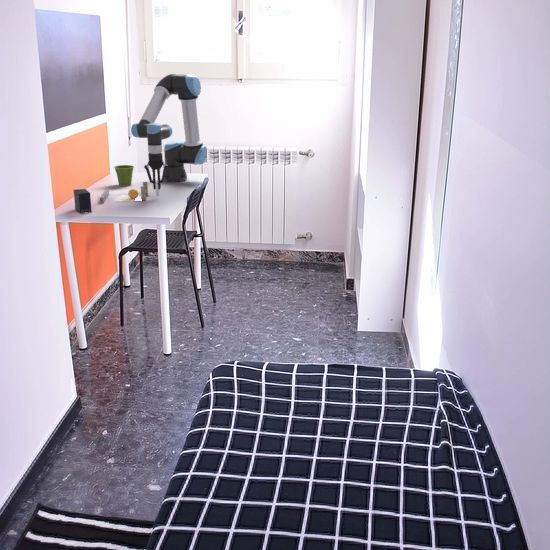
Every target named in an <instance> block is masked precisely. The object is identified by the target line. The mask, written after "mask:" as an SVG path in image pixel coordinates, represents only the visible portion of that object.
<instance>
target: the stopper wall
mask: <svg viewBox="0 0 550 550" xmlns="http://www.w3.org/2000/svg"><path fill="white" fill-rule="evenodd" d="M109 196H110V190H109V189H104V190H103V192H102V194H101V195H100V197H99V204H105V203H106V201H107V199H108V197H109Z"/></svg>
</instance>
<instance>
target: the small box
mask: <svg viewBox="0 0 550 550" xmlns="http://www.w3.org/2000/svg"><path fill="white" fill-rule="evenodd" d="M73 198H74V210H75V211H77V212H78V214H86V213H85V212H88V213H92V200H91V192H90V191H89V190H87V189H86V188H80V189H77V188H76V189H73Z"/></svg>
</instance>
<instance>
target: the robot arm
mask: <svg viewBox="0 0 550 550" xmlns="http://www.w3.org/2000/svg"><path fill="white" fill-rule="evenodd" d="M201 89H202V85H201V80H200V79H199V77H198V76H197V75H195V74H189V73H187V74H186V73H185V74H184V73H170V74H167V75H165V76H164V77H162V78H161V79H160V80H159V81H158V82H157V84H156V85H155V87H154V88H153V92H154V93H153V94H152V96H151V98H150V101H149V103H148V105H147V106H146V108H145V110H144V112H143V114H142V116H141V118H140V120H139V122H138V123H133V124H132V126H131V129H130V131H131V133H130V134H131V135H132V136H133V137H134V138H140V139H146V140H147V152H148V155H147V156H148V162H147V164H144V166H143V168H144V170H145V171H146V174H147V177H148V180H149V181H148V182H149V183H150V184H152V186H153V190H155V196H156V197H157V196H160V191H159V190H161V184H163V183H164V180H167V181H166V182H169V181H175V182H177V183H178V182H183V181H187V180H188V174H187V172H186V169H185V164H186V165H188V164H189V165H194V166H196V165H200V166H201V165H203V164H204V163H205V162H206V161H207V156H208V148H207V146H206V145H205V144H203V141H202V139H200V138H201V137H200V129H199V119H198V109H197V100H198V99H199V96H200V94H201ZM172 95H173V96H174V95H175V96H177V98H178V101H180V102H181V112H182V119H183V130H184V136H185V140H184V142H183V141H173V142H167V143H165V144H164V147H163V143H162V141H163V140H165V139H169V138H170V137H171V136H172V135H173V128H172V127H171V126H170V124H160V123H158V122H156V121H157V118H158V116H159V115H160V113H161V110H162V108H163V107H164V104H165V102H166V100H169V98H170V97H171V96H172ZM163 148H164V149H163ZM162 152H163V153H164V158H163V153H162ZM163 159H164V160H163ZM162 168H163V171H162V176H161V169H162ZM150 169H151V170H152V175H151V171H150ZM156 172H157V175H156ZM156 176H157V180H156ZM156 181H157V182H156ZM175 182H174V183H175Z"/></svg>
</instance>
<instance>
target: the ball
mask: <svg viewBox="0 0 550 550" xmlns="http://www.w3.org/2000/svg"><path fill="white" fill-rule="evenodd" d="M127 194H128V195H129V197H130V198H131V199H135V198H137V197H138V195H139V192H138V190H137V189H135V188H131V189H129V191H128V193H127Z"/></svg>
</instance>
